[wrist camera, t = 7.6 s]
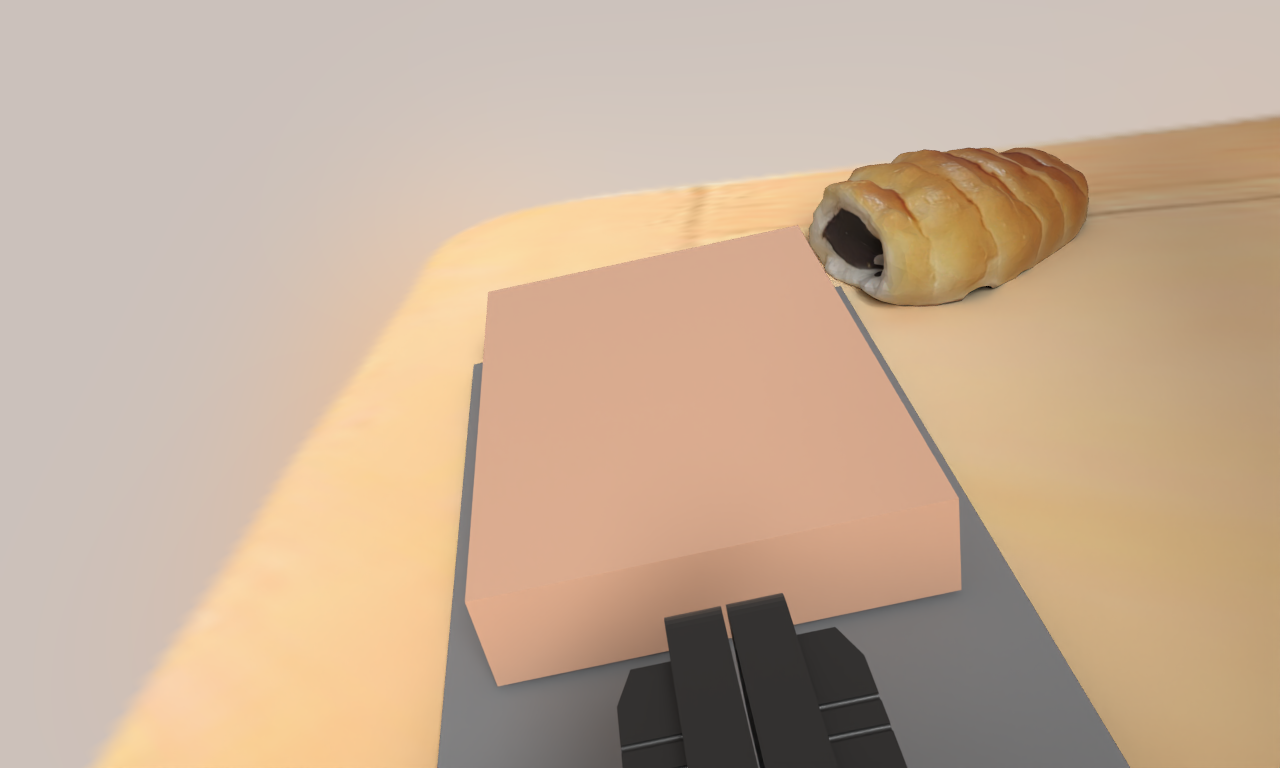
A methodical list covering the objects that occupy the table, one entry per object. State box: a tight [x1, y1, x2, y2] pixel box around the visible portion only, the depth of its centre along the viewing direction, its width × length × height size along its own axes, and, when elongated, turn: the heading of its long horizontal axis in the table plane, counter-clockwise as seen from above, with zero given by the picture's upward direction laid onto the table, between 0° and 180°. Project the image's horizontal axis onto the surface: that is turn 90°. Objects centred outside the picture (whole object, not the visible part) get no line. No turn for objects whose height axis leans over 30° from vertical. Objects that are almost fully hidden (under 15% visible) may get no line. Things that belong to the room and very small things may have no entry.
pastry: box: [809, 148, 1089, 306], centre depth 34 cm, size 9×7×4 cm
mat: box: [437, 286, 1130, 768], centre depth 24 cm, size 12×22×1 cm, turn 6°
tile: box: [465, 225, 961, 686], centre depth 27 cm, size 10×3×14 cm
